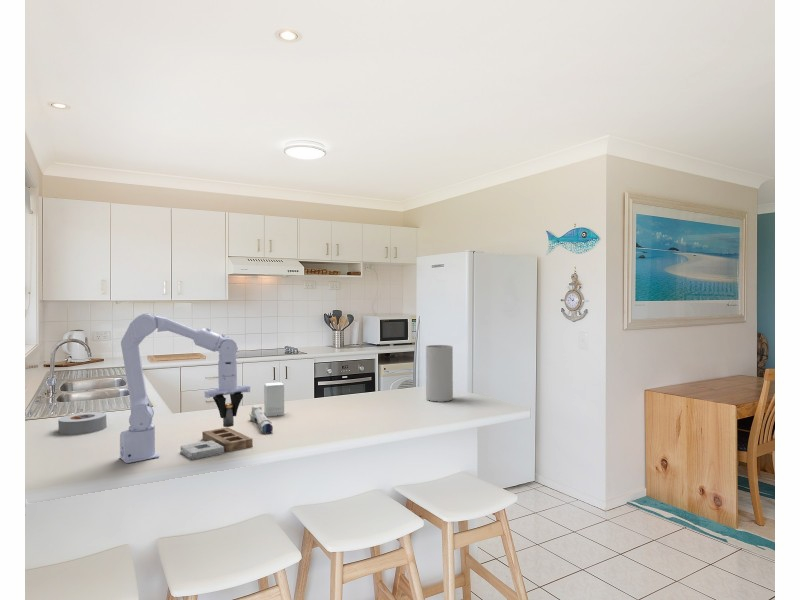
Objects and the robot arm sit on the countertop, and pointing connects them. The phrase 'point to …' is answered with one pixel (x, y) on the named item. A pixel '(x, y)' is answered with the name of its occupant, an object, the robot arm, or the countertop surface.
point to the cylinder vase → (439, 373)
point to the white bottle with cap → (261, 419)
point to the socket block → (202, 449)
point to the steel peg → (228, 415)
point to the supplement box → (274, 399)
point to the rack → (228, 439)
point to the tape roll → (82, 423)
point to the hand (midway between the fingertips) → (228, 416)
